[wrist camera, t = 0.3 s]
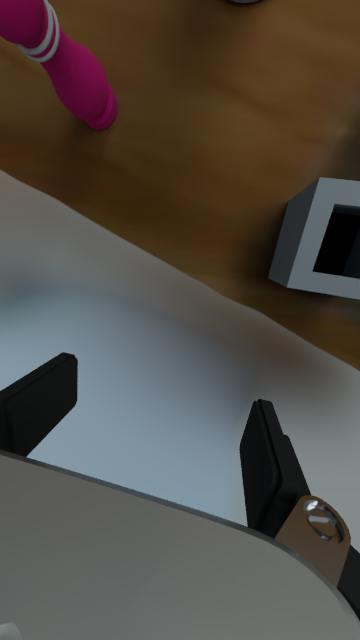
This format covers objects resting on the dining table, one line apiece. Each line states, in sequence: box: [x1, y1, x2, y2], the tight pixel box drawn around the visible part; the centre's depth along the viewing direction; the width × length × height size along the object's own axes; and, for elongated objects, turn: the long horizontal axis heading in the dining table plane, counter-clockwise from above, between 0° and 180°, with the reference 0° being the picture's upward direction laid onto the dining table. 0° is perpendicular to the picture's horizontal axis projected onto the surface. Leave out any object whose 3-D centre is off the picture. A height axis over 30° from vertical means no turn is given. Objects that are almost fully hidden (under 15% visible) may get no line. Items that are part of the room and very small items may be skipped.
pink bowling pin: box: [0, 0, 117, 130], centre depth 25 cm, size 7×7×20 cm
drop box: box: [268, 177, 360, 299], centre depth 29 cm, size 12×12×11 cm
